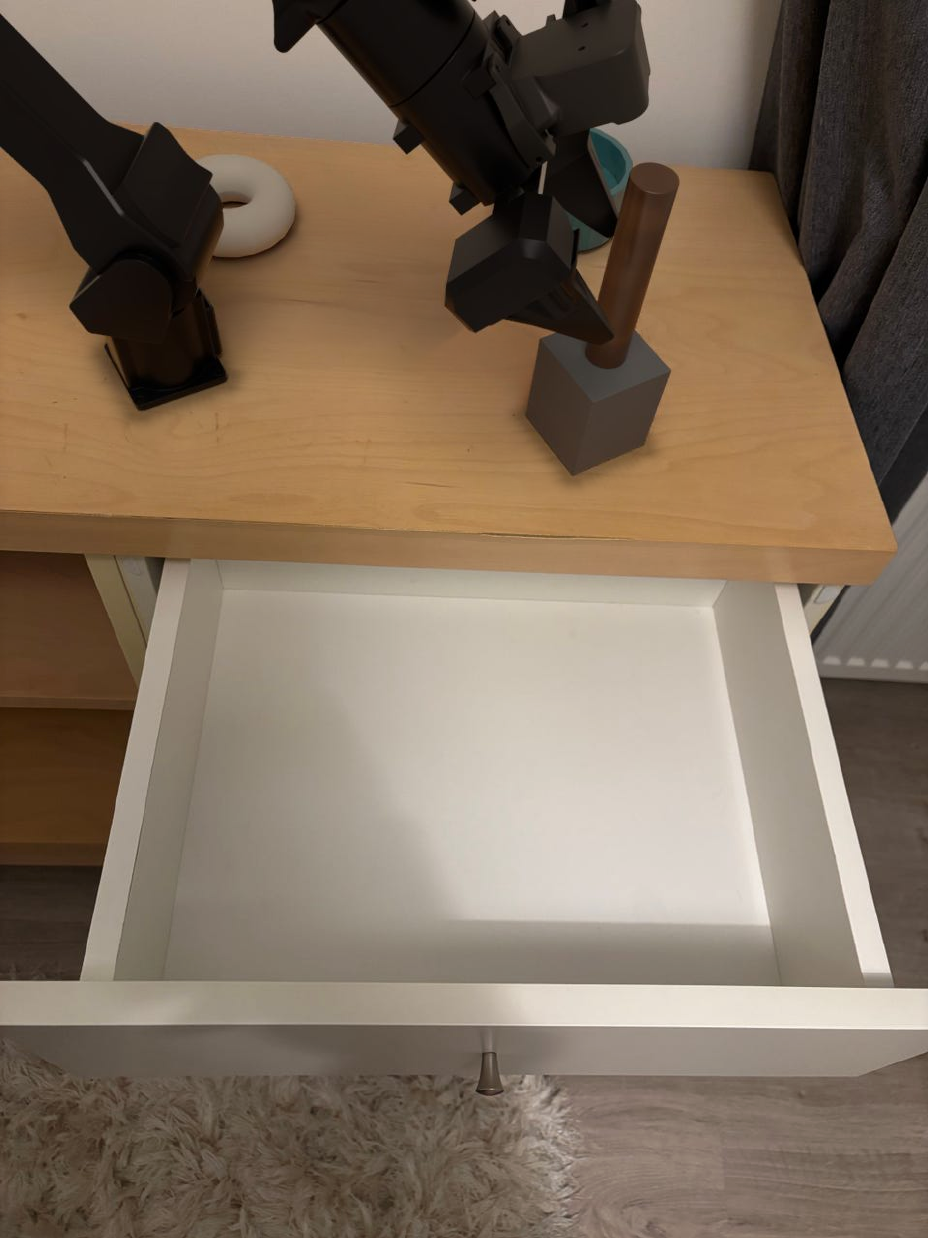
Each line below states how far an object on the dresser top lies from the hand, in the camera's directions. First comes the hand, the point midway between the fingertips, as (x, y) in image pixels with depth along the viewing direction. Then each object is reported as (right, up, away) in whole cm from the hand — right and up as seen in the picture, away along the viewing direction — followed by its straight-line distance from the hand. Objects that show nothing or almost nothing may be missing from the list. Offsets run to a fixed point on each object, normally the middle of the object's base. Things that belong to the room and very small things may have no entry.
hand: (611, 284), depth 52 cm
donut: (-27, +11, +19) cm, 34 cm away
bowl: (-1, +14, +22) cm, 26 cm away
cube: (0, -6, +10) cm, 12 cm away
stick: (0, -3, +4) cm, 5 cm away
